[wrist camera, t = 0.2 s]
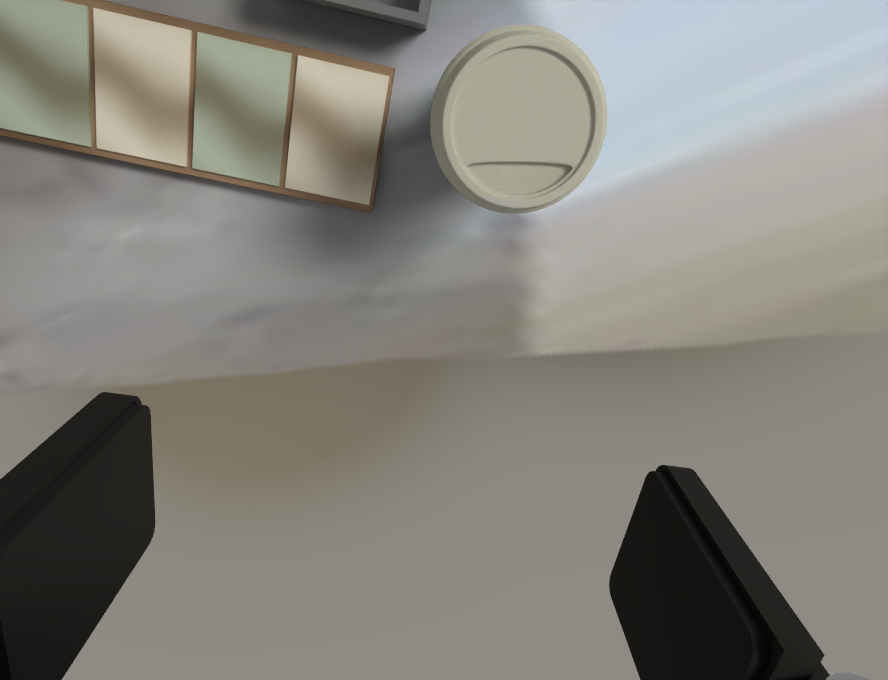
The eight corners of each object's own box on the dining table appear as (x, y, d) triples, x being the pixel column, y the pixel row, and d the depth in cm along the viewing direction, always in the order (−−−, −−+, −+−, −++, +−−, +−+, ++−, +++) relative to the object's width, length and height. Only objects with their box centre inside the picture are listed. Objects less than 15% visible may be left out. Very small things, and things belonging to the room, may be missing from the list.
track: (-116, -50, 33) (-132, -55, 32) (394, 68, 36) (393, 68, 35) (-92, 113, 36) (-106, 114, 35) (372, 210, 39) (370, 213, 38)
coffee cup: (406, 138, 37) (394, 154, 26) (480, 14, 34) (501, -27, 23) (511, 210, 39) (541, 253, 28) (589, 98, 36) (656, 96, 25)
